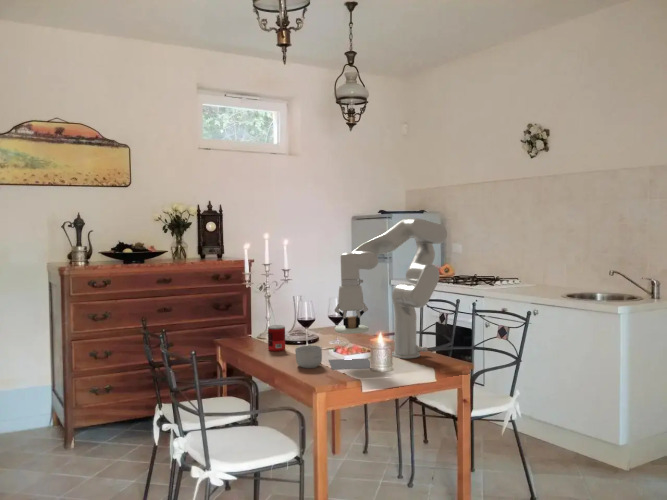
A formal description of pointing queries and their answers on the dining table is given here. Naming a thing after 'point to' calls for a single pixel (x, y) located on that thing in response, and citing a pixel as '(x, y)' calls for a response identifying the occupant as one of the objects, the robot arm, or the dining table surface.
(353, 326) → the lid
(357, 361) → the mat
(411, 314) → the robot arm
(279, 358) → the dining table surface
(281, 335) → the canned food
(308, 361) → the teacup
